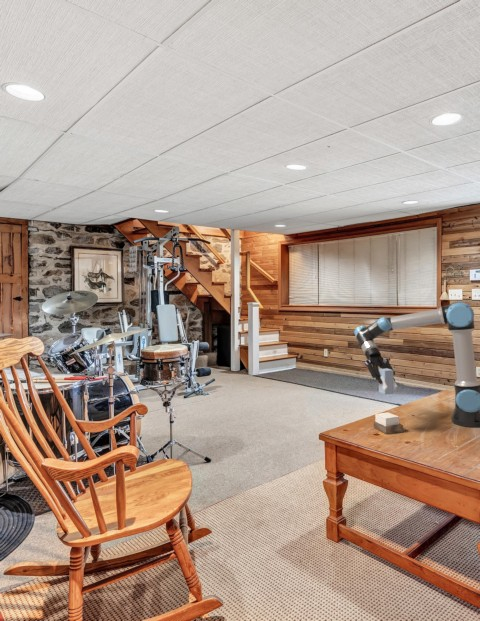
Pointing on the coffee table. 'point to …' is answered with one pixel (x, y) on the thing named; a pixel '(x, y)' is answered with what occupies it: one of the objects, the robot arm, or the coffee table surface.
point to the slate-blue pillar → (386, 381)
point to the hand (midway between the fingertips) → (390, 388)
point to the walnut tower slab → (388, 428)
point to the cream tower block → (387, 419)
